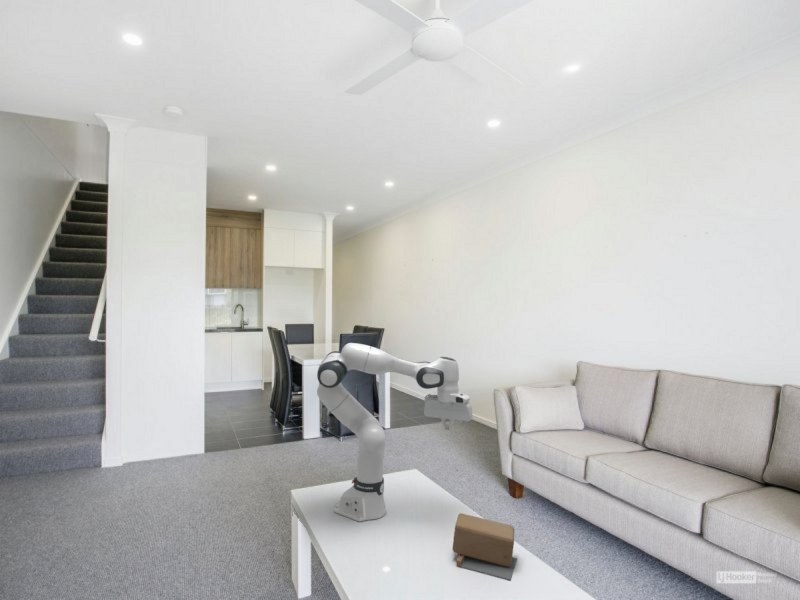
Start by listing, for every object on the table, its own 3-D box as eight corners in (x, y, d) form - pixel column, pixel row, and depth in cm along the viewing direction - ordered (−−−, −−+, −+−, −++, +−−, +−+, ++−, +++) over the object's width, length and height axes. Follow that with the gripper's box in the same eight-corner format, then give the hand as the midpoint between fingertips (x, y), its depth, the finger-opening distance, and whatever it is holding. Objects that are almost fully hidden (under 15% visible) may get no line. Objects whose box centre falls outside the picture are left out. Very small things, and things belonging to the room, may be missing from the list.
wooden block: (451, 553, 149) (511, 569, 143) (455, 525, 148) (514, 539, 143) (455, 538, 158) (511, 552, 153) (458, 511, 158) (514, 525, 153)
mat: (456, 566, 145) (456, 560, 145) (466, 547, 157) (466, 541, 157) (510, 580, 138) (510, 574, 138) (517, 559, 150) (517, 553, 150)
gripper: (421, 395, 180) (421, 428, 179) (469, 399, 171) (469, 434, 171) (427, 392, 186) (426, 424, 185) (473, 397, 177) (473, 430, 177)
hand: (447, 429), depth 178 cm, fingers closed
